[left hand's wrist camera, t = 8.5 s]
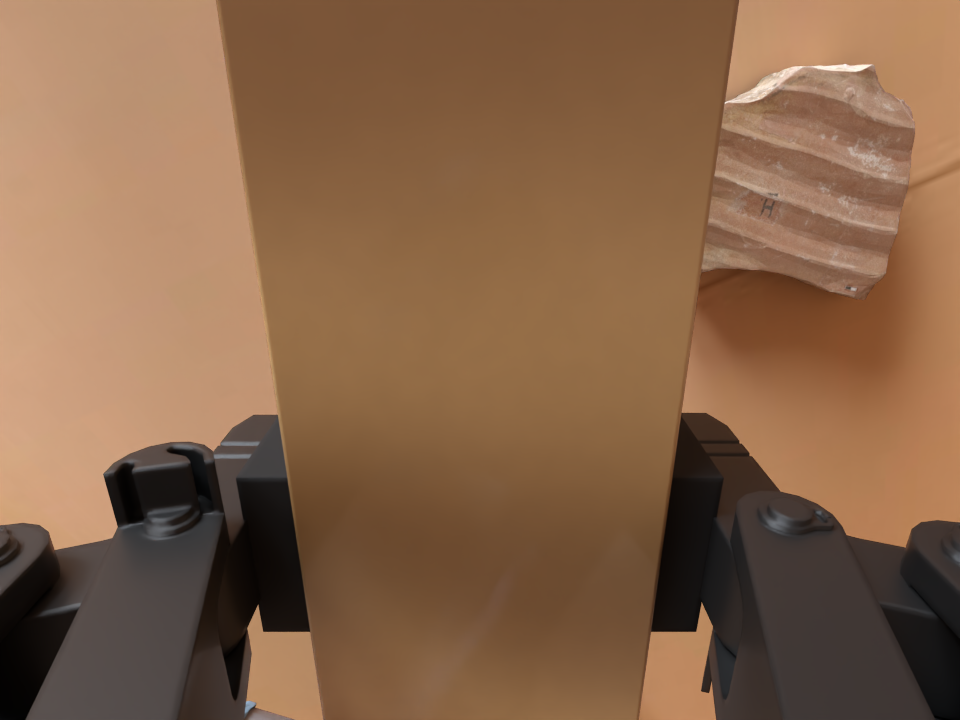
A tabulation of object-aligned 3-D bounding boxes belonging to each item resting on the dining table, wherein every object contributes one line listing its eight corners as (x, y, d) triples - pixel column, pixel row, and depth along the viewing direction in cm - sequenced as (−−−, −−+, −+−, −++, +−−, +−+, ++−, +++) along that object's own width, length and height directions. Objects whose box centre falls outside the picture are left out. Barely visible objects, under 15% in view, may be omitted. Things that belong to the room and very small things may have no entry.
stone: (906, 63, 30) (942, 59, 27) (855, 295, 34) (882, 308, 32) (645, 72, 30) (658, 68, 27) (629, 300, 34) (639, 314, 32)
